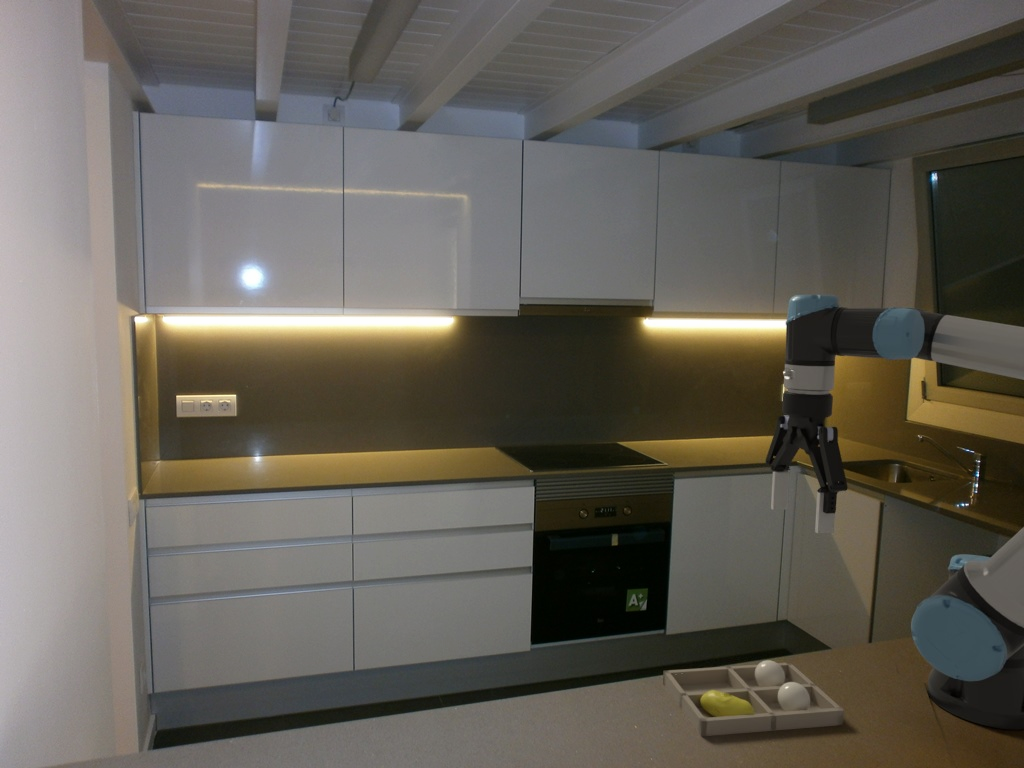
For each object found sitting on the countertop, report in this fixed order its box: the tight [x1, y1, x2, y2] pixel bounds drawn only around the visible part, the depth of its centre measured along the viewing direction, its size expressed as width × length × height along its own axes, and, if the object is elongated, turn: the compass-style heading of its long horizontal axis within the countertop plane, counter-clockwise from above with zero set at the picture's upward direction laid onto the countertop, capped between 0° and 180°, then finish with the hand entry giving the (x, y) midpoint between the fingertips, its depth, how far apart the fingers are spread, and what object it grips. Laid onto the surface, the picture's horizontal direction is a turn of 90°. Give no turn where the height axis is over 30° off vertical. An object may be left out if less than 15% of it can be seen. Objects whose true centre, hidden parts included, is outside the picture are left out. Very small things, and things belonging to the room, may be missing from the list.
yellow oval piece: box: [700, 690, 755, 717], centre depth 111 cm, size 4×8×4 cm, turn 52°
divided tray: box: [662, 662, 845, 737], centre depth 115 cm, size 22×15×3 cm
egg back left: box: [778, 682, 810, 712], centre depth 113 cm, size 5×5×5 cm
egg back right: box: [755, 659, 785, 687], centre depth 120 cm, size 5×5×5 cm
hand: (800, 520), depth 123 cm, fingers open, 13 cm apart
